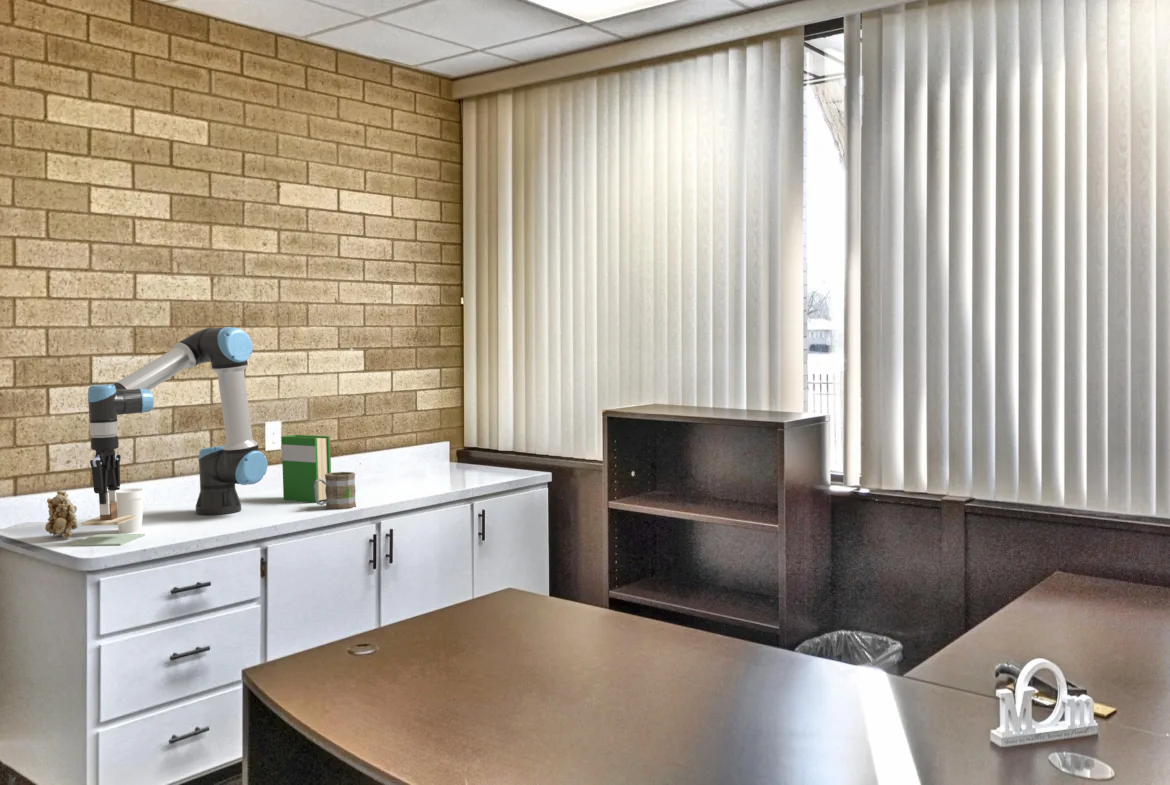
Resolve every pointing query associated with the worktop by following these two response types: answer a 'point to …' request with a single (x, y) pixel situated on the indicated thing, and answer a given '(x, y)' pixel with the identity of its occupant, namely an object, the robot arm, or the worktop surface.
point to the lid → (109, 517)
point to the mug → (338, 490)
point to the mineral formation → (61, 515)
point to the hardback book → (305, 466)
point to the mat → (107, 539)
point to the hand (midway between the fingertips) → (108, 513)
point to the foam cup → (130, 508)
